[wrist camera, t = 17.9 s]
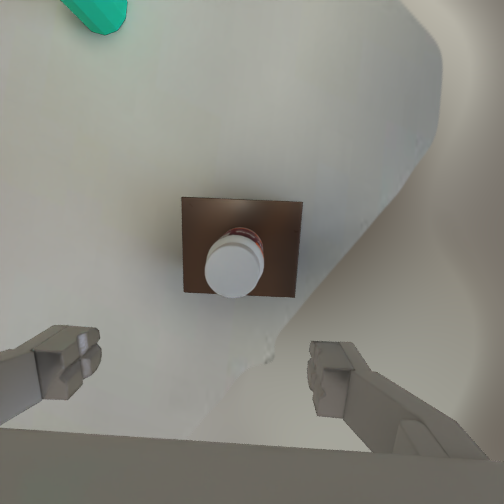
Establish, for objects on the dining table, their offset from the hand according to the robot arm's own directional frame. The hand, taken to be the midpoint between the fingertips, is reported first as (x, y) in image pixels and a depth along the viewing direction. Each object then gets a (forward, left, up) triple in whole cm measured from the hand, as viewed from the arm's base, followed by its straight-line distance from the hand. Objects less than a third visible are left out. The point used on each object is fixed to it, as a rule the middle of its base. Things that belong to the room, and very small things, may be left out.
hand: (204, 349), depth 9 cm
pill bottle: (0, 0, -17) cm, 17 cm away
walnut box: (0, 0, -24) cm, 24 cm away
